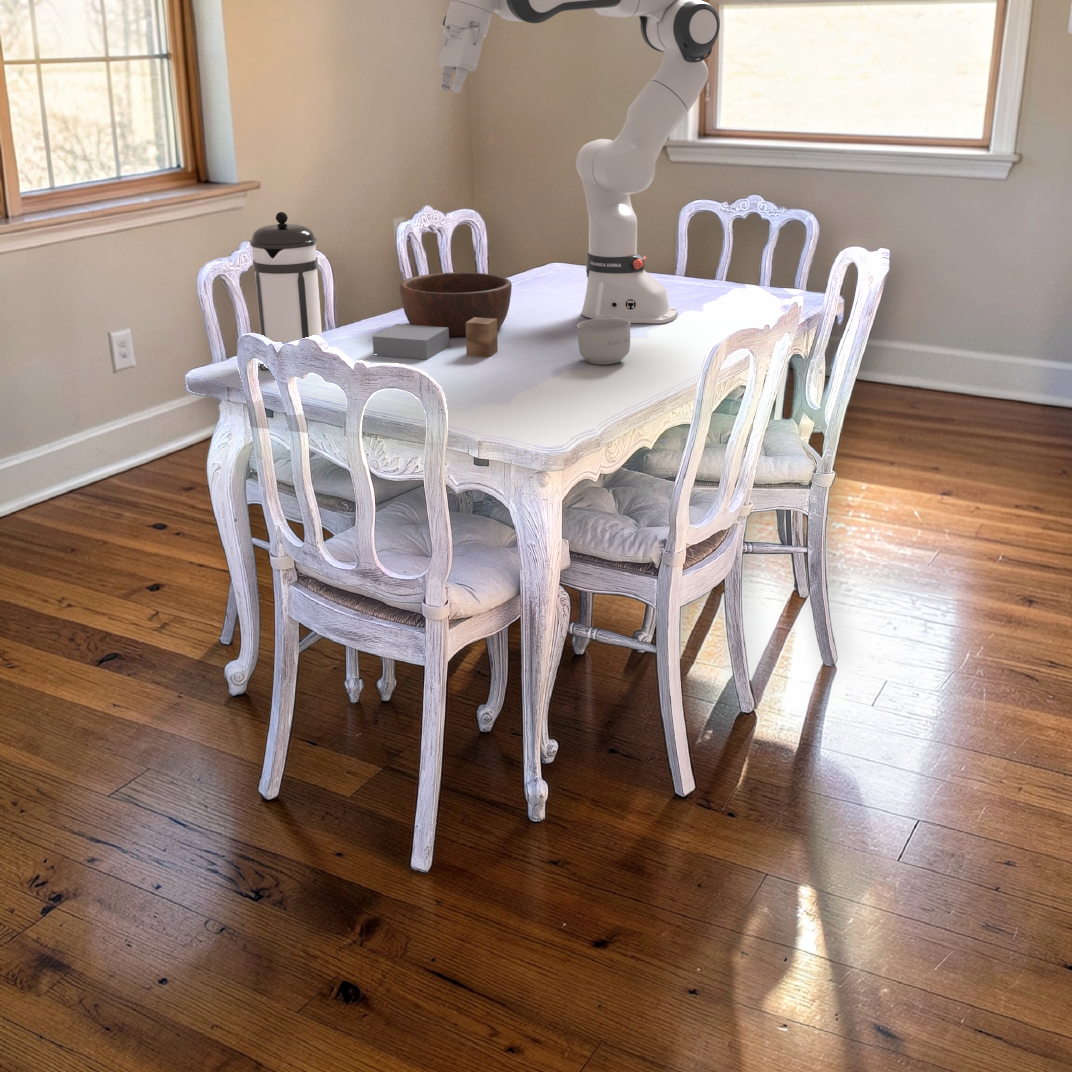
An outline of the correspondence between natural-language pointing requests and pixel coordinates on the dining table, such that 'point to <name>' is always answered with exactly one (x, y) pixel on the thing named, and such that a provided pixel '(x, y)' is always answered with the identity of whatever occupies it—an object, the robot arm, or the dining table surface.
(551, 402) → the dining table surface
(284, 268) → the coffee press
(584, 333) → the teacup
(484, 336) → the walnut block
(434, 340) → the block
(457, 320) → the wooden bowl
